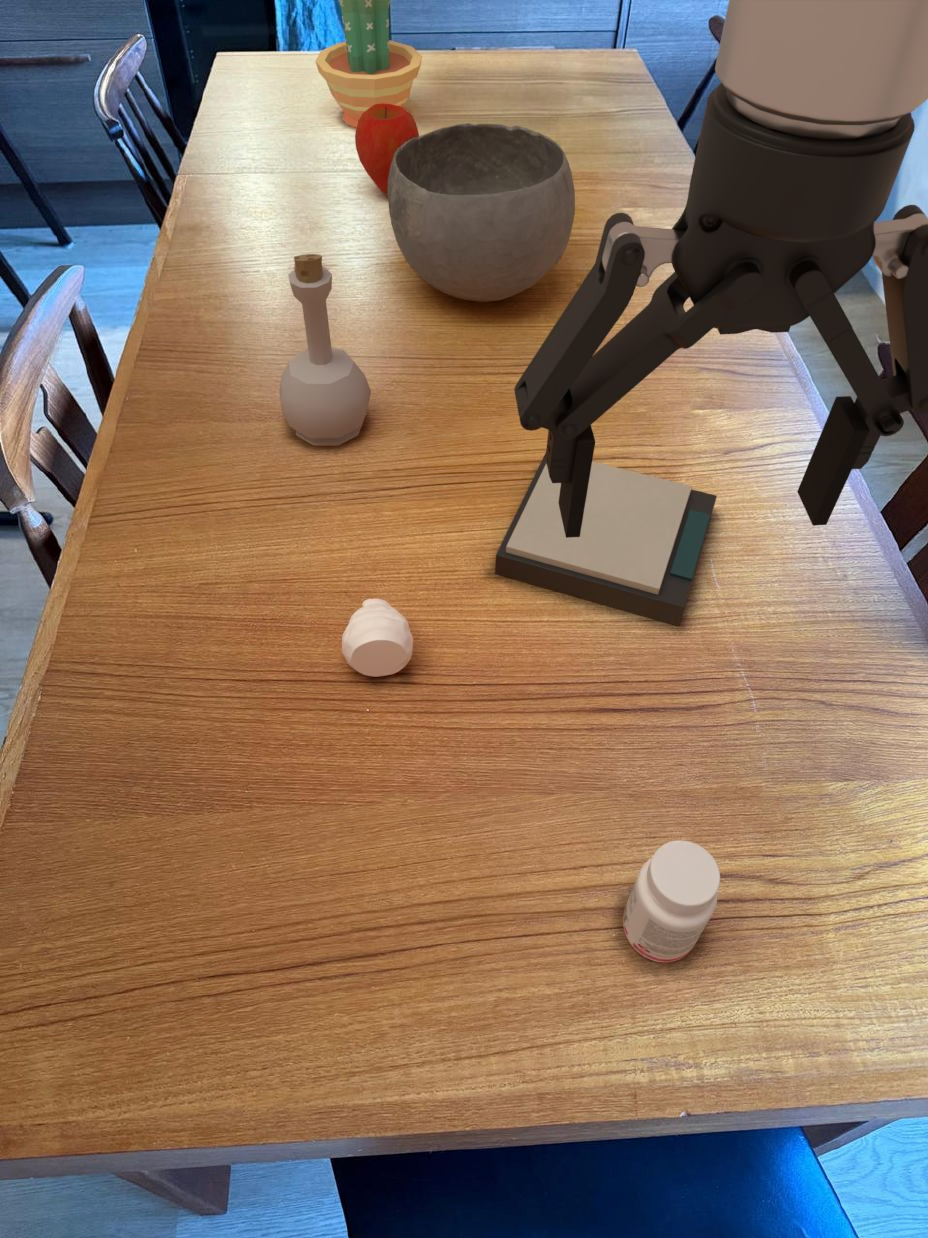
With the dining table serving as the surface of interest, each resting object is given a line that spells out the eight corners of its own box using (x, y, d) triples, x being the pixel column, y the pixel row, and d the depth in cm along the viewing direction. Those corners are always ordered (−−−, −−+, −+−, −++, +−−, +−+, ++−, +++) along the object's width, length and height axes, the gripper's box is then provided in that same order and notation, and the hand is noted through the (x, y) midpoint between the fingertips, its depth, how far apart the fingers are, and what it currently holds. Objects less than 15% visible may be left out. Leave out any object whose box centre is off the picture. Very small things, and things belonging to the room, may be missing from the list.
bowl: (581, 253, 111) (596, 124, 99) (546, 346, 98) (558, 211, 86) (422, 229, 114) (419, 102, 102) (368, 316, 101) (358, 182, 90)
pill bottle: (712, 940, 57) (745, 887, 50) (652, 978, 55) (679, 929, 49) (665, 878, 60) (692, 820, 53) (607, 912, 58) (626, 857, 52)
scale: (711, 514, 82) (719, 488, 79) (678, 626, 73) (686, 601, 71) (543, 471, 85) (546, 445, 83) (494, 573, 77) (496, 547, 74)
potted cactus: (383, 88, 142) (373, -111, 123) (444, 120, 135) (443, -86, 115) (301, 113, 136) (276, -93, 116) (360, 148, 128) (344, -66, 109)
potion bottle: (288, 458, 86) (257, 285, 72) (282, 401, 91) (252, 230, 77) (379, 447, 87) (366, 275, 73) (367, 392, 92) (353, 222, 79)
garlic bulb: (408, 616, 74) (405, 572, 69) (416, 675, 70) (414, 632, 66) (341, 623, 73) (335, 579, 69) (345, 683, 69) (339, 640, 65)
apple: (346, 187, 121) (338, 100, 112) (400, 172, 124) (397, 86, 115) (378, 213, 116) (372, 125, 108) (433, 196, 119) (432, 109, 111)
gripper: (1085, 51, 36) (884, 458, 52) (465, 60, 34) (459, 477, 51) (1197, 132, 31) (938, 552, 48) (484, 147, 30) (471, 576, 46)
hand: (691, 514), depth 49 cm, fingers open, 13 cm apart
